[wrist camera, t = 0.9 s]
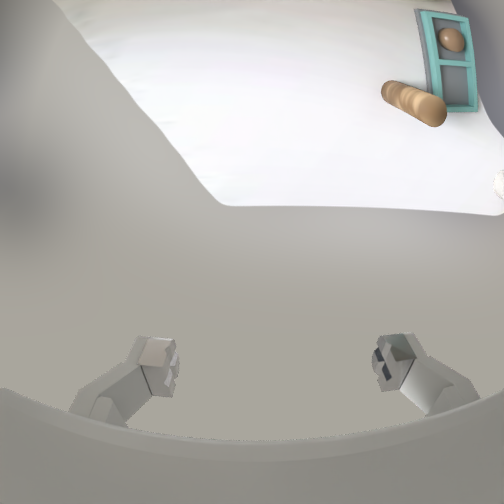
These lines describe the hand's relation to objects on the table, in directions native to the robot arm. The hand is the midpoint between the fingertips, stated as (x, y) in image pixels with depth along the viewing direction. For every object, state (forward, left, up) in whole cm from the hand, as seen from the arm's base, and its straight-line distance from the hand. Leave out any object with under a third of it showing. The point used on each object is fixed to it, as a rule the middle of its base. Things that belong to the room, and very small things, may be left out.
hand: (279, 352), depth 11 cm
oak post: (0, +23, -42) cm, 48 cm away
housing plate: (-6, +36, -42) cm, 56 cm away
